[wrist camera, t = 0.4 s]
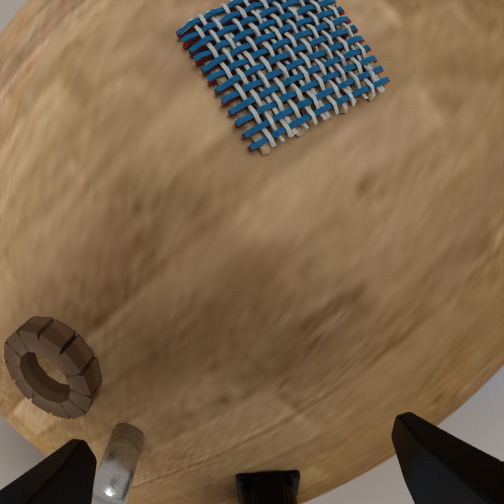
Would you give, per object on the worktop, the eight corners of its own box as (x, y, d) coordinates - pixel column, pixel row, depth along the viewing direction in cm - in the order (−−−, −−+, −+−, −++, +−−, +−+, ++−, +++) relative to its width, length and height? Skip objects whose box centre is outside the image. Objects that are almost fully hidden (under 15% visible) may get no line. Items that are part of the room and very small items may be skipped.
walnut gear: (111, 405, 23) (103, 425, 20) (37, 392, 23) (25, 408, 20) (86, 320, 21) (71, 336, 18) (8, 313, 20) (-9, 326, 18)
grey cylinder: (147, 445, 24) (130, 510, 17) (119, 441, 24) (97, 503, 17) (140, 425, 24) (119, 493, 16) (110, 421, 23) (84, 485, 16)
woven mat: (388, 92, 18) (402, 87, 16) (255, 162, 19) (257, 161, 17) (308, -23, 15) (314, -37, 13) (173, 34, 16) (167, 22, 14)
